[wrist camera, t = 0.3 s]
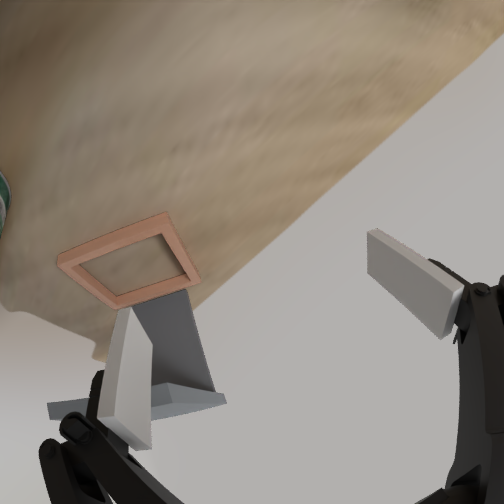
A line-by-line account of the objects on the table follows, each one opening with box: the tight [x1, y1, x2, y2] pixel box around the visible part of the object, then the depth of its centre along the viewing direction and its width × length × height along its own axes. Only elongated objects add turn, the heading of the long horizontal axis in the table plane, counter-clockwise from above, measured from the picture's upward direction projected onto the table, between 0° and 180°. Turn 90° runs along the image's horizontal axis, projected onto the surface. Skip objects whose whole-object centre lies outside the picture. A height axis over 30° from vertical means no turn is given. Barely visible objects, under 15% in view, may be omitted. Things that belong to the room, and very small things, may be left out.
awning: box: [47, 289, 227, 421], centre depth 29 cm, size 22×12×18 cm, turn 5°
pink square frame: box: [57, 212, 201, 310], centre depth 33 cm, size 14×14×2 cm
